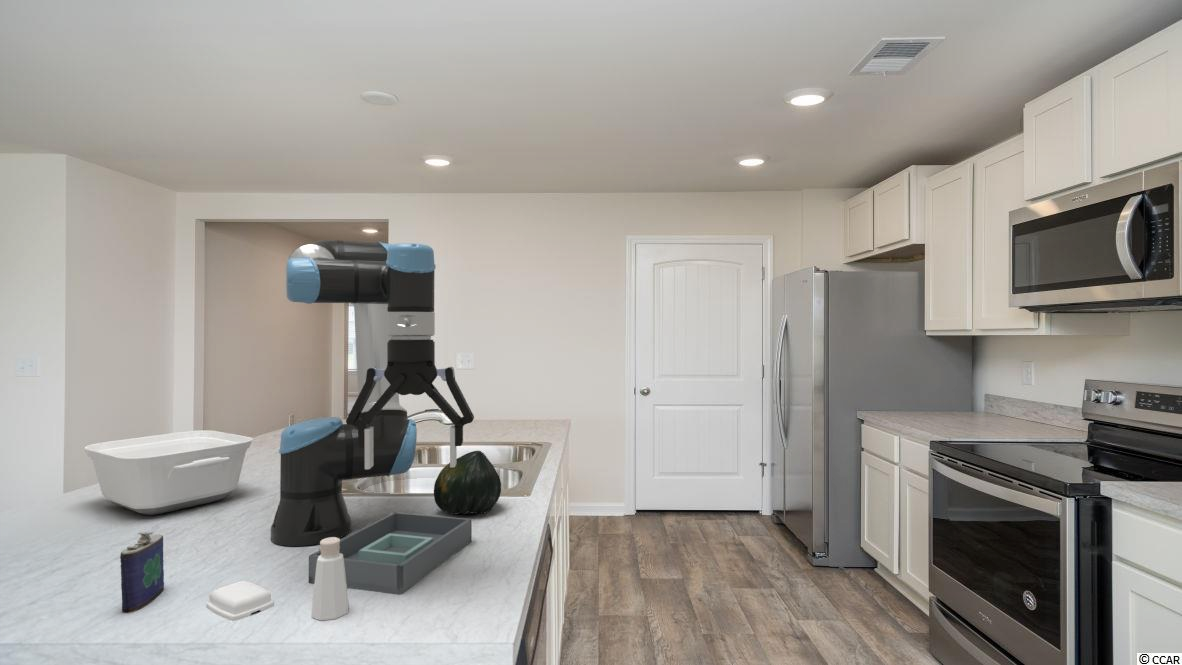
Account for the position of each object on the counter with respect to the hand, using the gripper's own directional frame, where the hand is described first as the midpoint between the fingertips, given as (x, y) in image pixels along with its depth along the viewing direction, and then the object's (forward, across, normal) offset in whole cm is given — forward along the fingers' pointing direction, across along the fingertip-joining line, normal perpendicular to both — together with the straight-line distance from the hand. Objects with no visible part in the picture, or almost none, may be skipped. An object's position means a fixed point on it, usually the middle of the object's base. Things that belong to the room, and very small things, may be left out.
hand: (411, 466), depth 103 cm
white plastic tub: (+20, -66, +54) cm, 88 cm away
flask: (+20, -41, -1) cm, 45 cm away
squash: (+20, +6, +41) cm, 46 cm away
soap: (+20, -25, -5) cm, 32 cm away
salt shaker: (+20, -10, -9) cm, 24 cm away
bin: (+20, -5, +12) cm, 23 cm away
